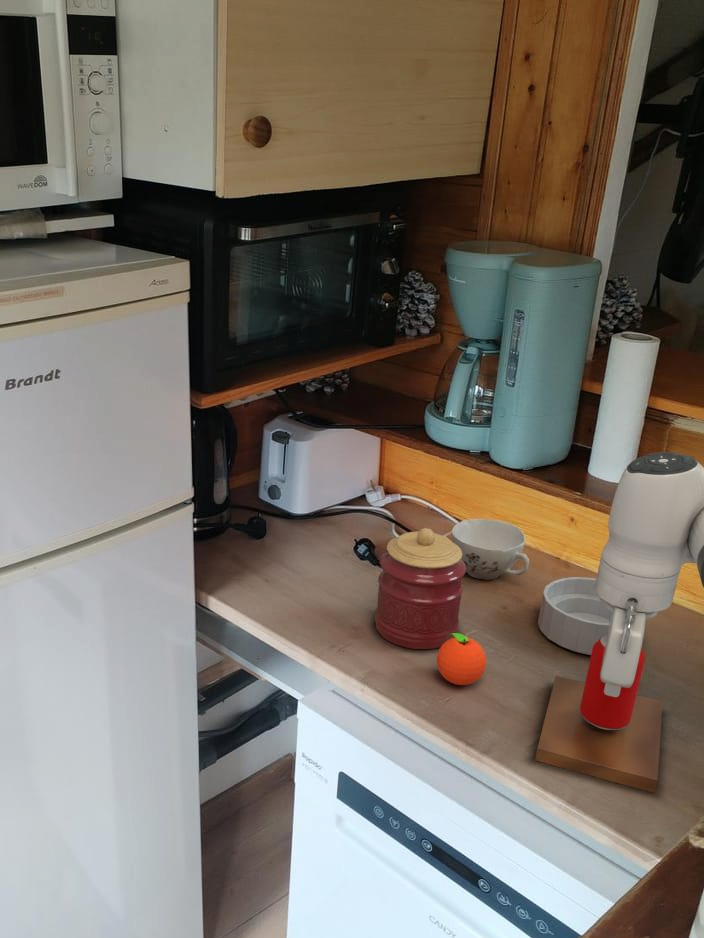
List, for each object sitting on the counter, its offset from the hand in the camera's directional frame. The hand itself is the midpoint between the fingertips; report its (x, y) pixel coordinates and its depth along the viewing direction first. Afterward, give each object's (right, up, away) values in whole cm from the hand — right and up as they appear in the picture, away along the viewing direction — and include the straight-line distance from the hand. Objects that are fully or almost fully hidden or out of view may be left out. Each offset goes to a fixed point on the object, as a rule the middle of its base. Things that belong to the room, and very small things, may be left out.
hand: (613, 677), depth 116 cm
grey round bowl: (+8, +3, +28) cm, 29 cm away
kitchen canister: (-19, +3, +28) cm, 34 cm away
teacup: (-3, +11, +45) cm, 47 cm away
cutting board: (0, -8, +4) cm, 9 cm away
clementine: (-16, -3, +16) cm, 23 cm away
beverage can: (0, -6, +3) cm, 7 cm away
